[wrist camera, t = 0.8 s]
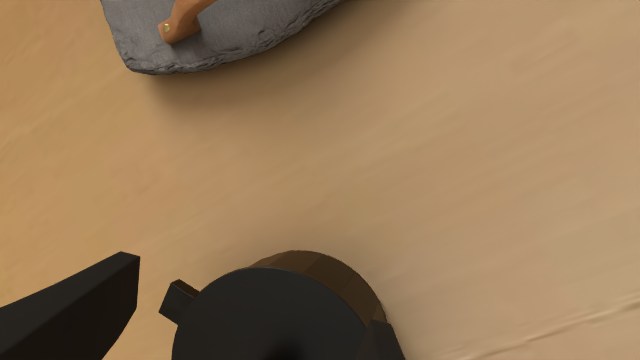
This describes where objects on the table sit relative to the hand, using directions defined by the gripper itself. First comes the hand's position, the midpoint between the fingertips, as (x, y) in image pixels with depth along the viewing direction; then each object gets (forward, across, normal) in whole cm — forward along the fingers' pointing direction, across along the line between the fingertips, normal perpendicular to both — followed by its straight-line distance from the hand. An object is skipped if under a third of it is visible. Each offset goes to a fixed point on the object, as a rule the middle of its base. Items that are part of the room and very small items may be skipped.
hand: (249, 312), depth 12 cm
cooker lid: (+9, -1, +13) cm, 15 cm away
